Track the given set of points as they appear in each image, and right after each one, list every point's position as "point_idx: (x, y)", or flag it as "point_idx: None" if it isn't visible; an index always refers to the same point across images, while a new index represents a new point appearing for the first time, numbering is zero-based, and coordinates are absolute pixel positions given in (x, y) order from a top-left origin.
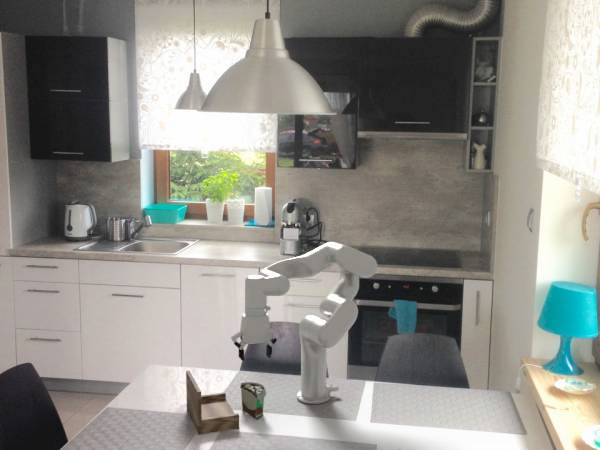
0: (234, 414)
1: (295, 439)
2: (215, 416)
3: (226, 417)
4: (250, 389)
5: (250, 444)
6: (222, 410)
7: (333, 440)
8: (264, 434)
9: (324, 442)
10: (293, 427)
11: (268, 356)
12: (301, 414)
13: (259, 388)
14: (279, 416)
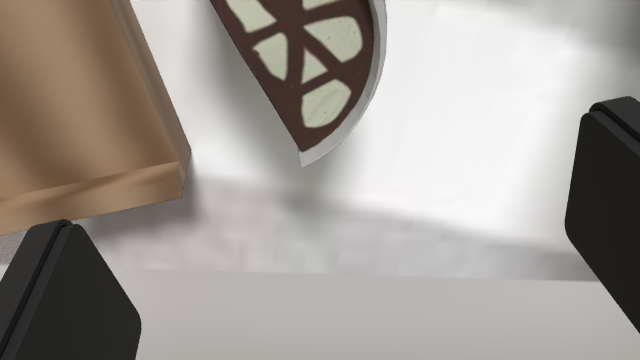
0: (153, 193)
1: (434, 247)
2: (26, 123)
3: (109, 208)
4: (251, 48)
5: (249, 271)
6: (50, 40)
7: (569, 258)
8: (314, 206)
9: (531, 268)
10: (461, 156)
11: (574, 234)
12: (561, 15)
13: (337, 12)
14: (428, 27)
